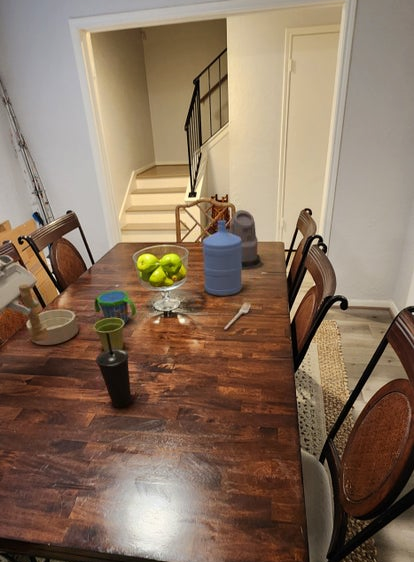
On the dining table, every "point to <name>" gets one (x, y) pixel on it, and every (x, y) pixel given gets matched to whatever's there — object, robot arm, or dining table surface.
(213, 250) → the water jug
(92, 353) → the dining table surface
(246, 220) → the machine
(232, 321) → the fork
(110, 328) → the plant pot
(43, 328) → the wooden pestle
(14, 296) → the robot arm
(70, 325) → the bowl
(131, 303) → the snack cup
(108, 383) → the drinking cup
